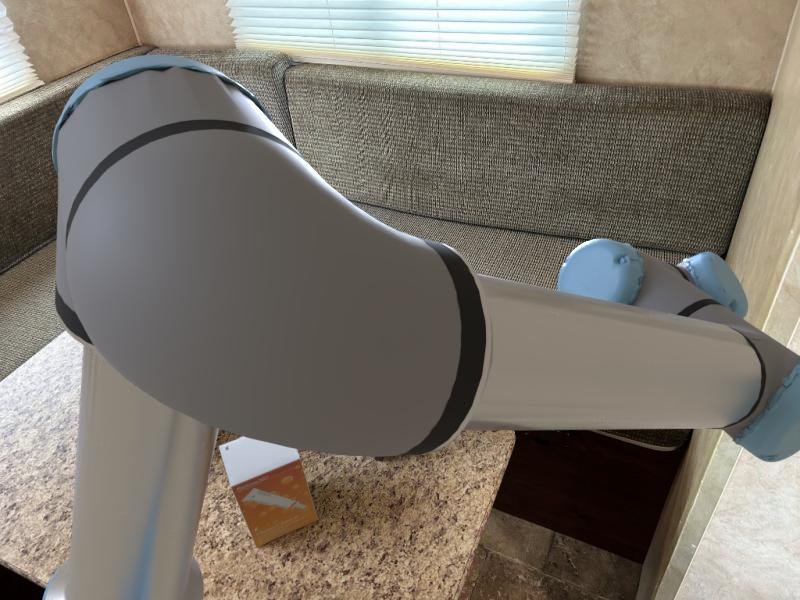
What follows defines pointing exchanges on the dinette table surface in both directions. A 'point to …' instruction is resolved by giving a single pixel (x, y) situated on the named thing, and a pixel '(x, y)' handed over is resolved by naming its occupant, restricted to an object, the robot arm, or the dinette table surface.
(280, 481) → the small box
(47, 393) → the dinette table surface
